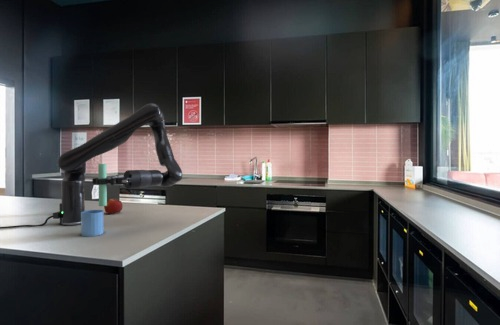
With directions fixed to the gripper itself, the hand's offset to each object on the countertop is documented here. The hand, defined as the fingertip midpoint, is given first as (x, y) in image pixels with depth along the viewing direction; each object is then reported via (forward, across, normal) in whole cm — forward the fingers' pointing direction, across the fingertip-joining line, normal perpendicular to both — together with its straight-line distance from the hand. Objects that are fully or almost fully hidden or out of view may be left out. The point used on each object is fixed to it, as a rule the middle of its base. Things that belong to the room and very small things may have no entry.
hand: (94, 181), depth 117 cm
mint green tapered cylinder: (-3, 0, +10) cm, 10 cm away
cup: (-2, -9, +22) cm, 24 cm away
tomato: (-27, -45, +22) cm, 57 cm away
